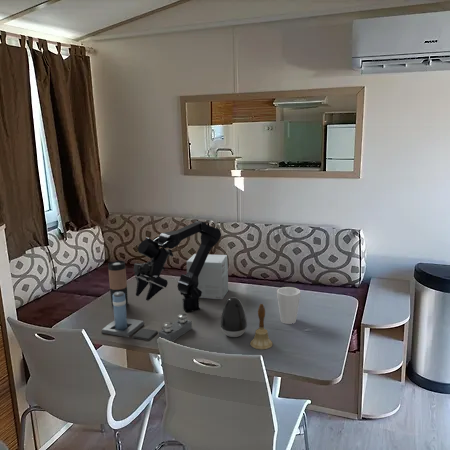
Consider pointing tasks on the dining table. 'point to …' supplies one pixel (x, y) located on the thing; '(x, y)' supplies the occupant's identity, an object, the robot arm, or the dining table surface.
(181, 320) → the plunger
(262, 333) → the hand bell
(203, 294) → the supplement box
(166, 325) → the plunger
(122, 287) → the travel mug
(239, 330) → the dark egg shaped device
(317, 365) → the dining table surface
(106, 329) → the socket plate
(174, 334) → the bar
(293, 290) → the foam cup
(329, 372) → the dining table surface
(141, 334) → the mat
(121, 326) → the cartridge
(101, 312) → the dining table surface
